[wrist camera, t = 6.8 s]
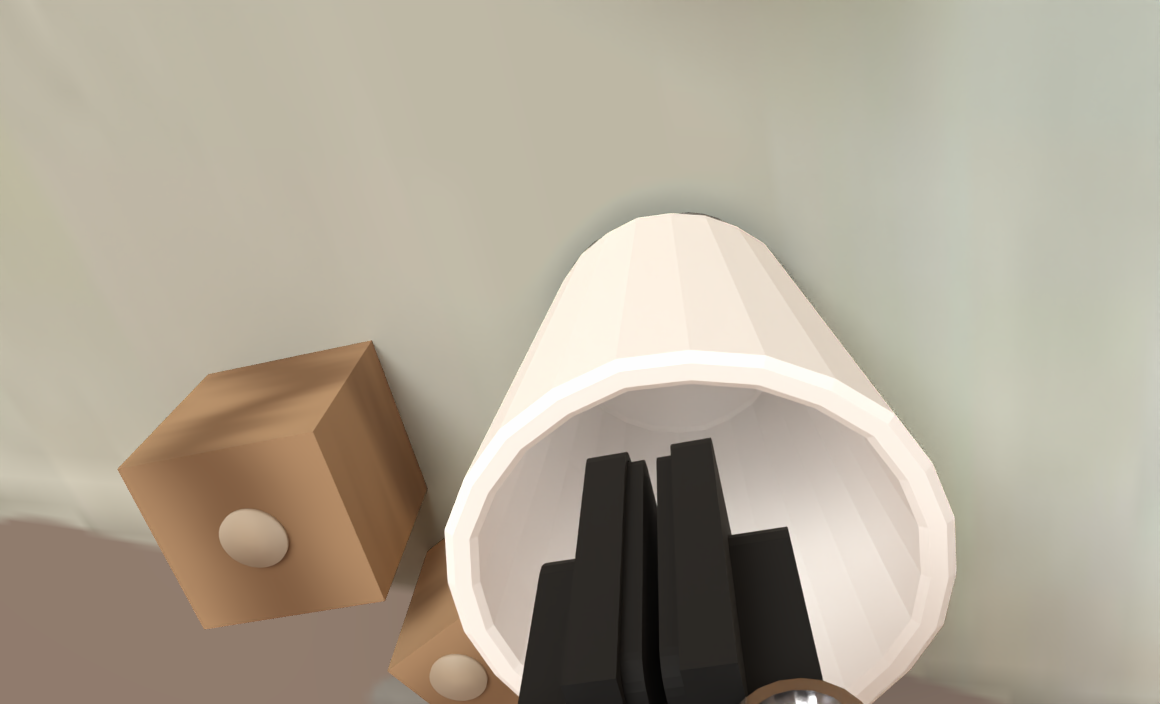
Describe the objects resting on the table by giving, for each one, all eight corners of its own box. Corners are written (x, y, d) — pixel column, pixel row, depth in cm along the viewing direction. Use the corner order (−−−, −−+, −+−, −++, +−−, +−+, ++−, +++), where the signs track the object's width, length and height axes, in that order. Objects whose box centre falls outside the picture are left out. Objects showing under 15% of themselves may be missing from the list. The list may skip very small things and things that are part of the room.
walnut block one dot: (372, 339, 30) (311, 434, 24) (427, 487, 32) (383, 604, 27) (209, 373, 31) (114, 472, 25) (275, 514, 33) (202, 633, 28)
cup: (873, 203, 27) (1050, 414, 15) (780, 474, 31) (863, 797, 20) (547, 137, 26) (478, 301, 15) (499, 419, 31) (416, 715, 19)
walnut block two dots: (654, 563, 33) (658, 692, 28) (539, 643, 35) (521, 778, 30) (541, 460, 31) (521, 575, 26) (427, 550, 33) (386, 675, 28)
